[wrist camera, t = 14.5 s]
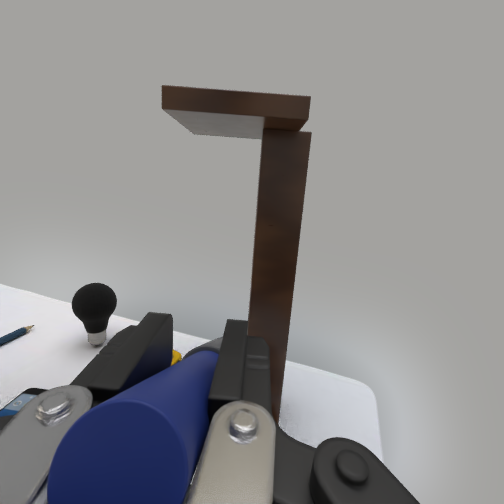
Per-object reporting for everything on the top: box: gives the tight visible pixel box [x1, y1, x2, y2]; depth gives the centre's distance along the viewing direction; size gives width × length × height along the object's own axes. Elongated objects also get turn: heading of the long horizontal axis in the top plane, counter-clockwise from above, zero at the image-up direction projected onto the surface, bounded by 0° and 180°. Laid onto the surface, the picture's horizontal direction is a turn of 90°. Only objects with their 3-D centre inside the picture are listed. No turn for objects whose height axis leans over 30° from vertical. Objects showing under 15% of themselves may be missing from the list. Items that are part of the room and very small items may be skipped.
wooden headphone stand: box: [162, 85, 312, 424], centre depth 28 cm, size 12×10×32 cm
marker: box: [47, 337, 223, 504], centre depth 12 cm, size 16×2×2 cm, turn 178°
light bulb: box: [72, 283, 117, 346], centre depth 43 cm, size 6×6×10 cm
